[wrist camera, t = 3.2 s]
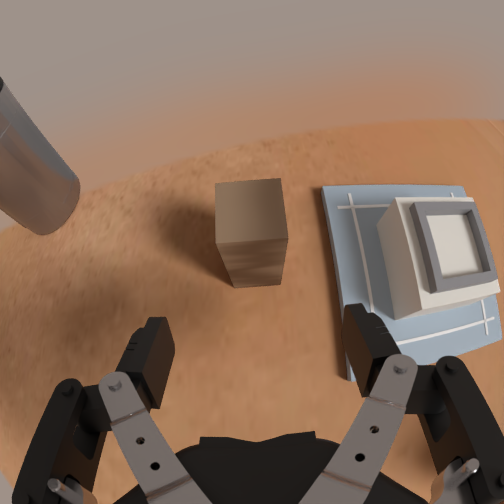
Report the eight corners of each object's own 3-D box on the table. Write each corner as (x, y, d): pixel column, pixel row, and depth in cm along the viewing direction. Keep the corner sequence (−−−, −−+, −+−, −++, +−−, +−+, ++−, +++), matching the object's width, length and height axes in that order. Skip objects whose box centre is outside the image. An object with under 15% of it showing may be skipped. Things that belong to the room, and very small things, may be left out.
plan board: (347, 380, 22) (377, 386, 15) (320, 192, 28) (333, 145, 22) (495, 340, 22) (540, 328, 15) (458, 191, 28) (487, 156, 21)
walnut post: (234, 288, 25) (215, 243, 16) (232, 245, 27) (215, 183, 18) (280, 284, 25) (288, 237, 16) (276, 242, 27) (280, 178, 17)
